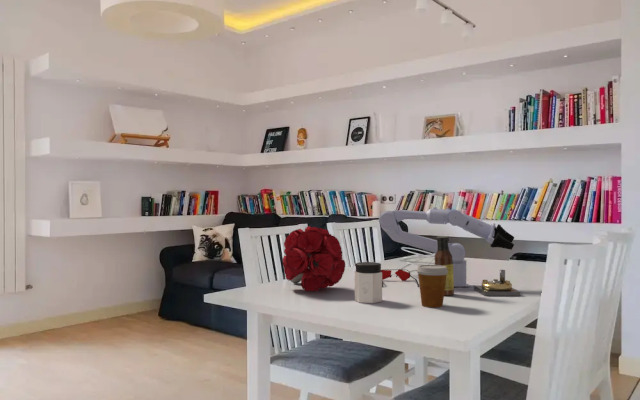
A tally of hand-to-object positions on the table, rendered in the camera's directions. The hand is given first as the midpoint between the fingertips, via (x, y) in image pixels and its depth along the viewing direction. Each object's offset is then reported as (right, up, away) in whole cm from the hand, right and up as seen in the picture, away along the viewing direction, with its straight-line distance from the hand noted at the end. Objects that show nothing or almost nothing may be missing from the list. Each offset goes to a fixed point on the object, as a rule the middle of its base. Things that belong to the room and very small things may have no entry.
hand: (513, 243), depth 189 cm
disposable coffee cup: (-37, -17, -31) cm, 51 cm away
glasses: (-41, -17, +9) cm, 46 cm away
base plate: (-10, -16, -10) cm, 21 cm away
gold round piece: (-9, -15, -10) cm, 20 cm away
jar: (-56, -17, -24) cm, 63 cm away
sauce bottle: (-29, -17, -13) cm, 35 cm away
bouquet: (-75, -17, -2) cm, 76 cm away
